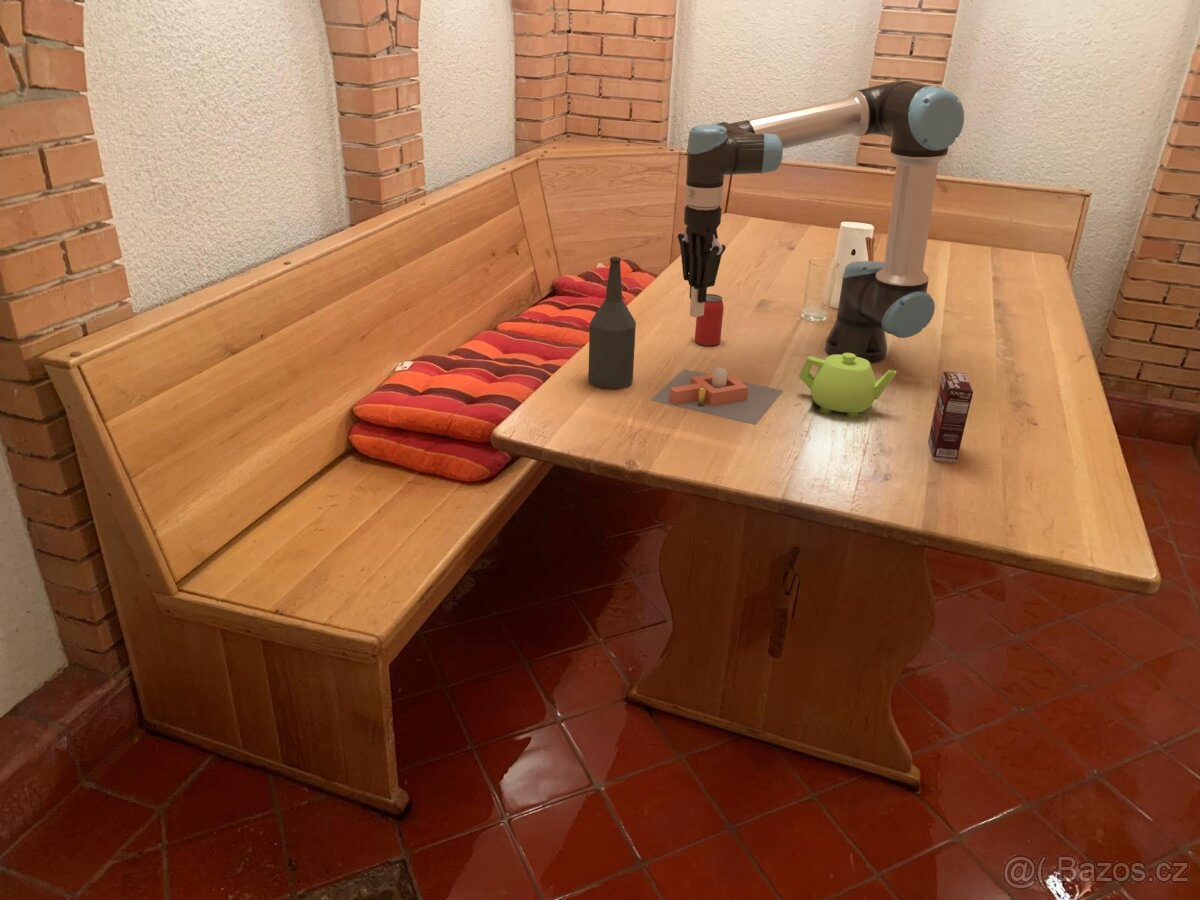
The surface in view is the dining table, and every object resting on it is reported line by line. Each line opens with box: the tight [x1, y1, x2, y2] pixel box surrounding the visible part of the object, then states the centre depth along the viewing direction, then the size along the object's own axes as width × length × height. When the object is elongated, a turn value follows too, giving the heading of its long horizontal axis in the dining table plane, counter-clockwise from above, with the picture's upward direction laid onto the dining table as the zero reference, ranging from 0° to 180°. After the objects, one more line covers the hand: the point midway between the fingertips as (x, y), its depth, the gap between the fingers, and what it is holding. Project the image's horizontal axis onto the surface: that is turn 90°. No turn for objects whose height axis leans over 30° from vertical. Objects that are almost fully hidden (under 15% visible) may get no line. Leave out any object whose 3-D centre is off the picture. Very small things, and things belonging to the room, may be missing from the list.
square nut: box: [669, 372, 748, 406], centre depth 199 cm, size 16×9×3 cm, turn 114°
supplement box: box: [927, 371, 974, 464], centre depth 179 cm, size 9×5×16 cm, turn 169°
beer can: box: [694, 293, 725, 347], centre depth 231 cm, size 7×7×12 cm
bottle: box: [587, 256, 637, 391], centre depth 200 cm, size 10×10×30 cm
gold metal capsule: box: [697, 386, 706, 406], centre depth 195 cm, size 2×2×4 cm
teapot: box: [798, 353, 897, 419], centre depth 198 cm, size 20×13×13 cm
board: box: [649, 366, 784, 426], centre depth 200 cm, size 24×20×8 cm
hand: (696, 315), depth 197 cm, fingers closed
